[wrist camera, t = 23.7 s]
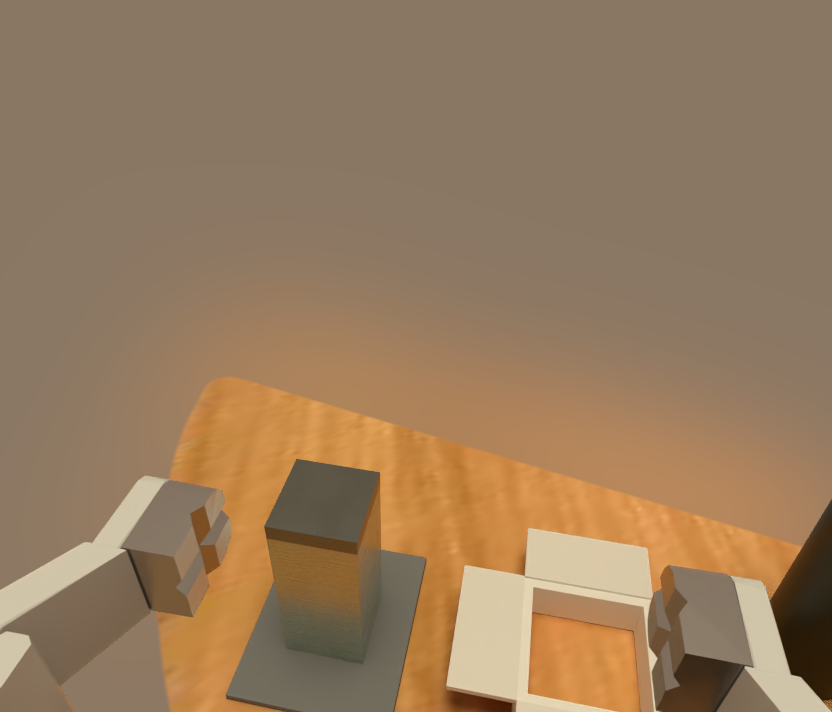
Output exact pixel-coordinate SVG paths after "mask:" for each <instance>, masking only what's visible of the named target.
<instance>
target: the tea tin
mask: <svg viewBox="0 0 832 712" xmlns="http://www.w3.org/2000/svg"><path fill="white" fill-rule="evenodd" d="M264 527H265V532H266V538H267V543H268V549H269V554H270V560H271V565H272V571H273V577H274V582H275V588H276V593H277V599H278V604H279V610H280V615H281V621H282V626H283V632H284V637H285V643H286V648H287V649H291V650H296V651H300V652H305V653H310V654H315V655H320V656H325V657H330V658H335V659H339V660H344V661H349V662H354V663H359V664H363V662H364V658H365V655H366V651H367V647H368V644H369V640H370V636H371V632H372V629H373V625H374V621H375V617H376V614H377V610H378V606H379V602H380V599H381V595H382V584H381V517H380V472H374V471H368V470H361V469H355V468H349V467H343V466H337V465H330V464H324V463H318V462H312V461H306V460H300V459H296V462H295V464H294V466H293V468H292V470H291V472H290V474H289V476H288V478H287V480H286V482H285V485H284V487H283V489H282V491H281V493H280V495H279V497H278V499H277V501H276V503H275V505H274V508H273V510H272V512H271V514H270V516H269V518H268V520H267V522H266V524H265V526H264Z"/></svg>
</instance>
